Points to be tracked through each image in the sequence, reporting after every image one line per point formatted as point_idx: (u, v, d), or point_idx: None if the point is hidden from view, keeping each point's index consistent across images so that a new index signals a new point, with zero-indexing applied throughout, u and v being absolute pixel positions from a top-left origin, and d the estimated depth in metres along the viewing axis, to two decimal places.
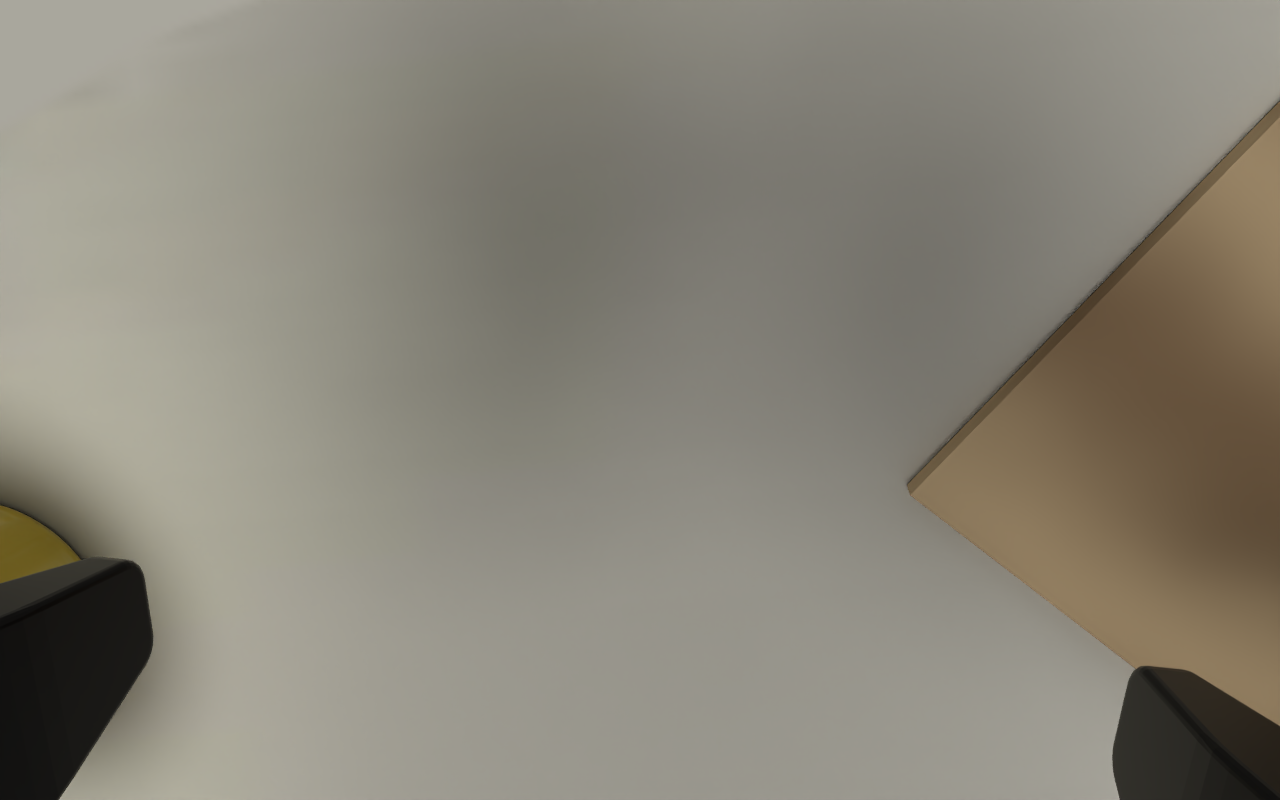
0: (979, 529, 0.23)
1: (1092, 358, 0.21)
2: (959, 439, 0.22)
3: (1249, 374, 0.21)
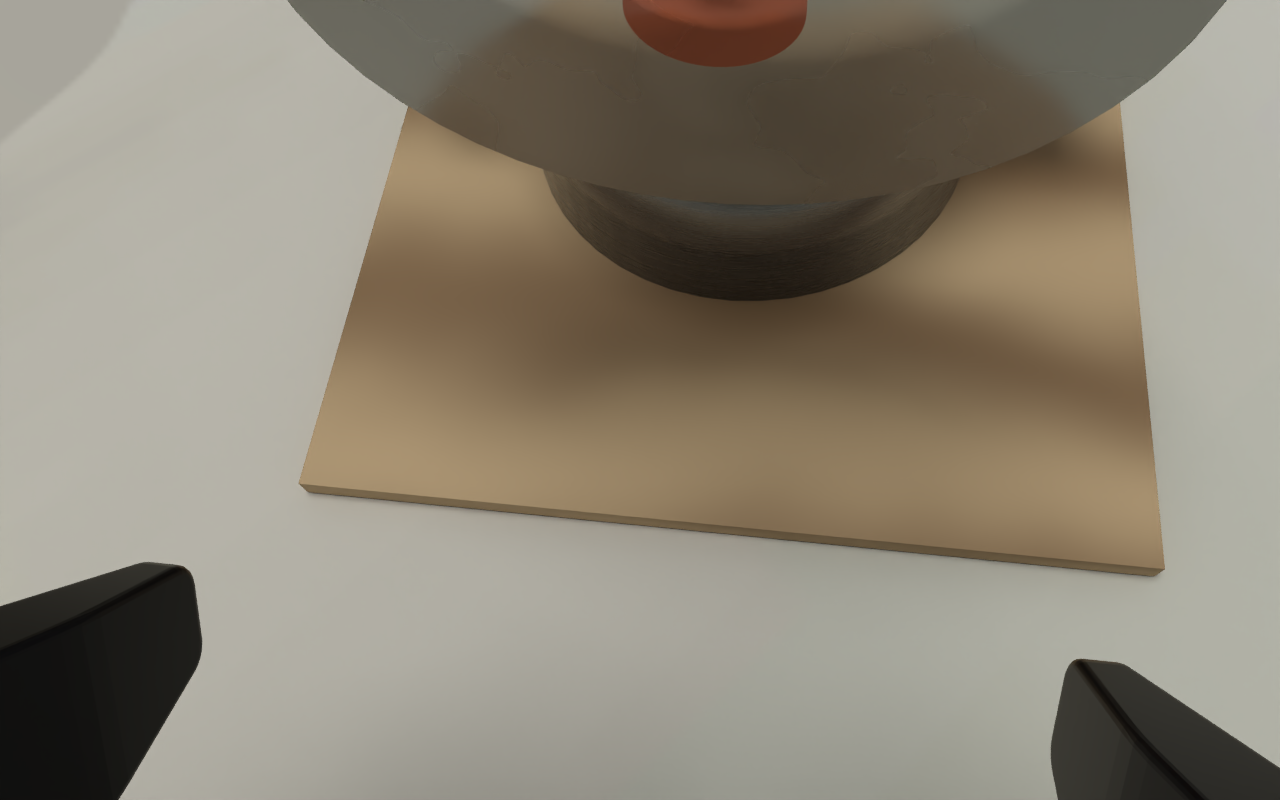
0: (371, 476, 0.24)
1: (377, 311, 0.26)
2: (320, 423, 0.25)
3: (490, 262, 0.26)
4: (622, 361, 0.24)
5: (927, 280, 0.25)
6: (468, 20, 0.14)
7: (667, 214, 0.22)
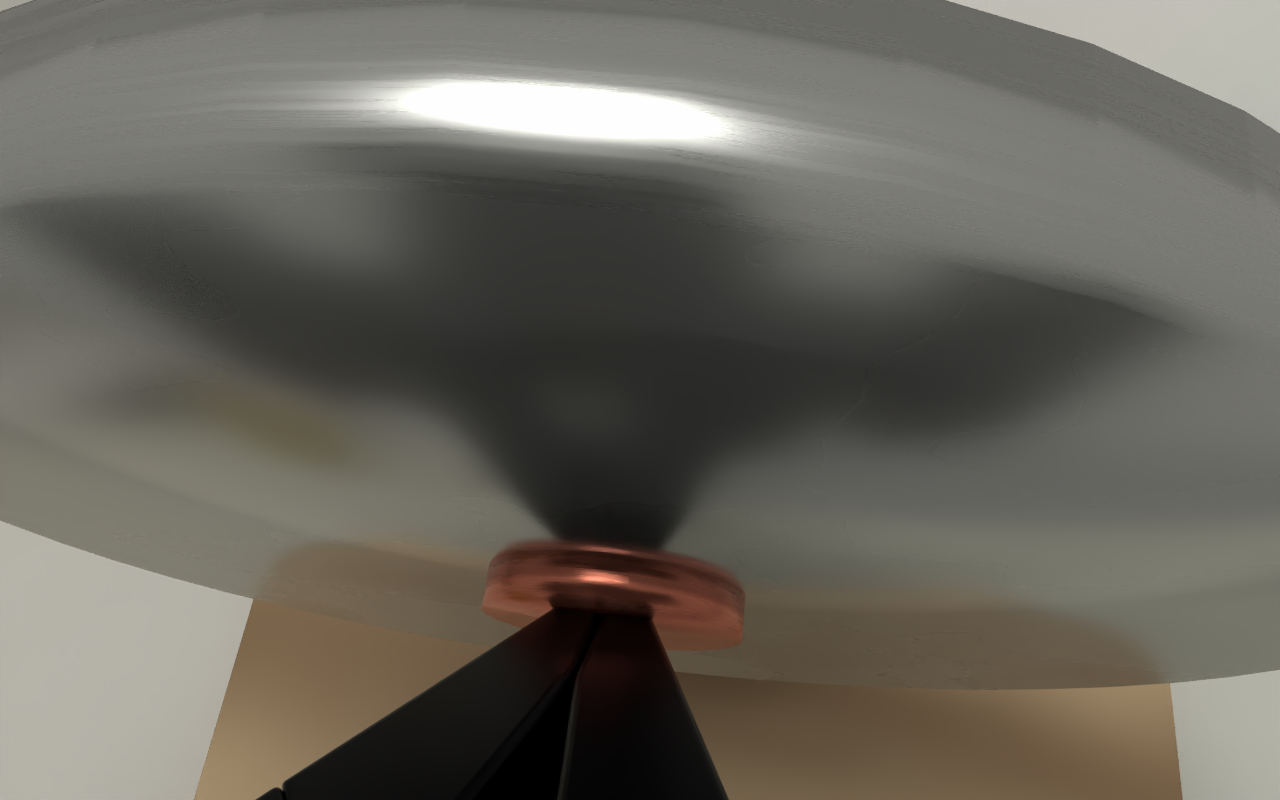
0: None
1: (269, 659, 0.22)
2: None
3: None
4: None
5: None
6: (289, 567, 0.10)
7: None
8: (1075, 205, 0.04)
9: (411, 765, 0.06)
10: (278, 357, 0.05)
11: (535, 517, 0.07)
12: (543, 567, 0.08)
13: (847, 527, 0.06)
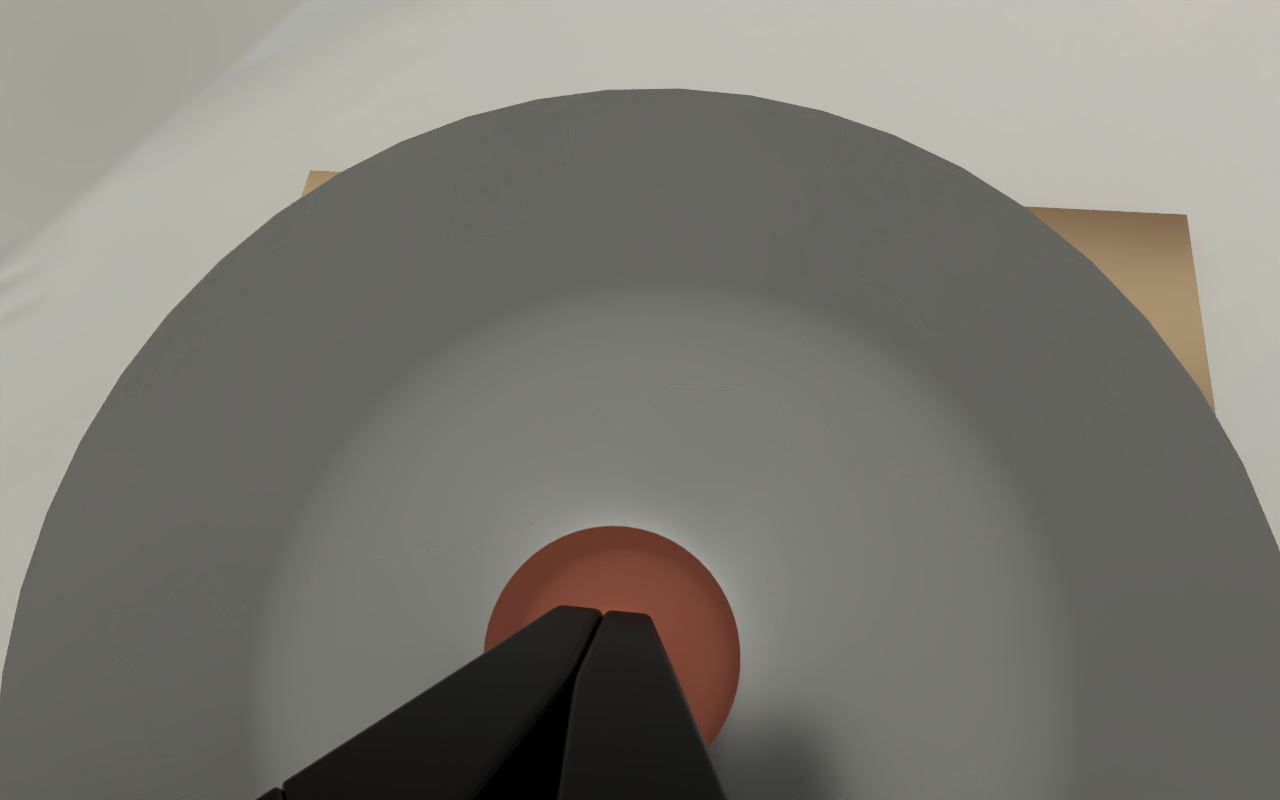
0: None
1: None
2: None
3: None
4: None
5: None
6: (242, 708, 0.10)
7: None
8: None
9: (411, 765, 0.06)
10: (561, 199, 0.11)
11: (604, 437, 0.10)
12: None
13: (823, 406, 0.10)
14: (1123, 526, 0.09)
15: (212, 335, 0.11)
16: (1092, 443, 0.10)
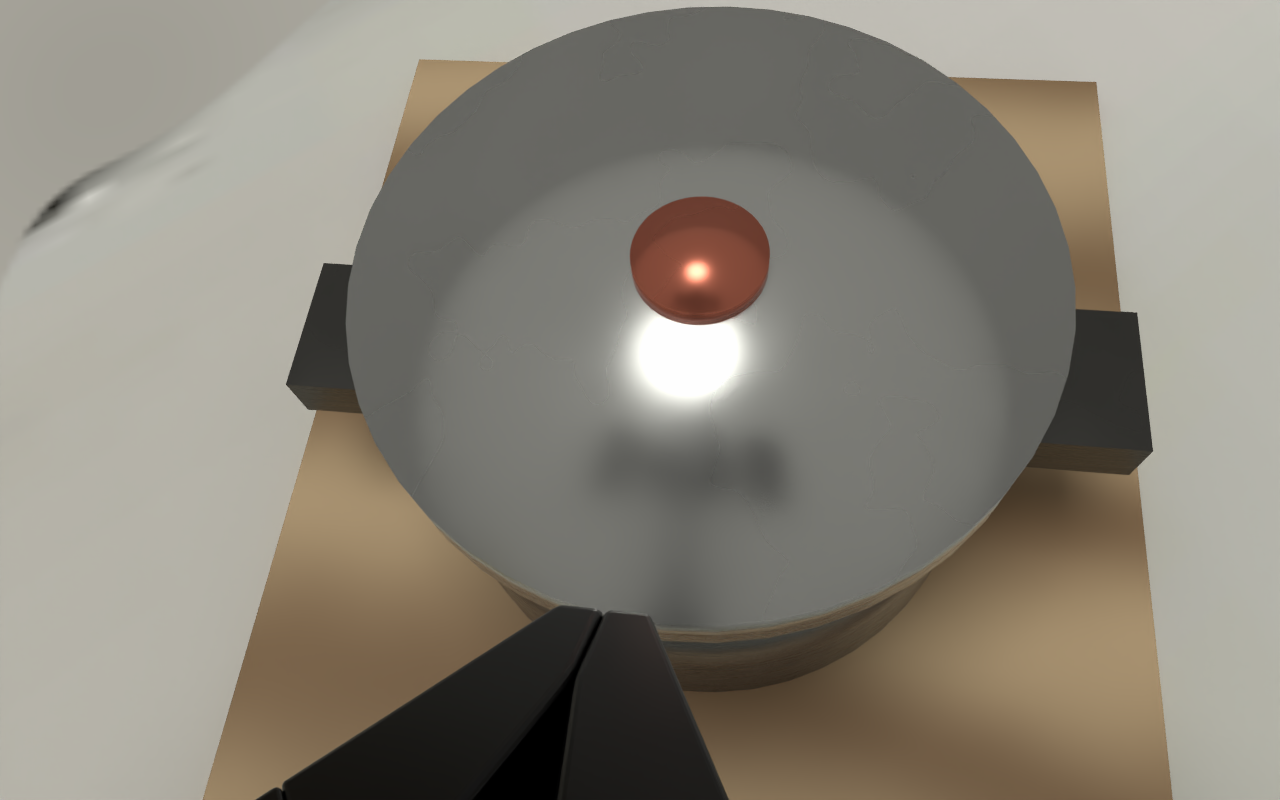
0: None
1: (267, 694, 0.22)
2: None
3: (402, 629, 0.22)
4: None
5: (912, 669, 0.21)
6: (489, 296, 0.17)
7: None
8: None
9: (411, 765, 0.06)
10: (663, 58, 0.19)
11: (690, 167, 0.18)
12: None
13: (812, 151, 0.18)
14: (974, 200, 0.17)
15: (463, 124, 0.19)
16: (958, 164, 0.18)
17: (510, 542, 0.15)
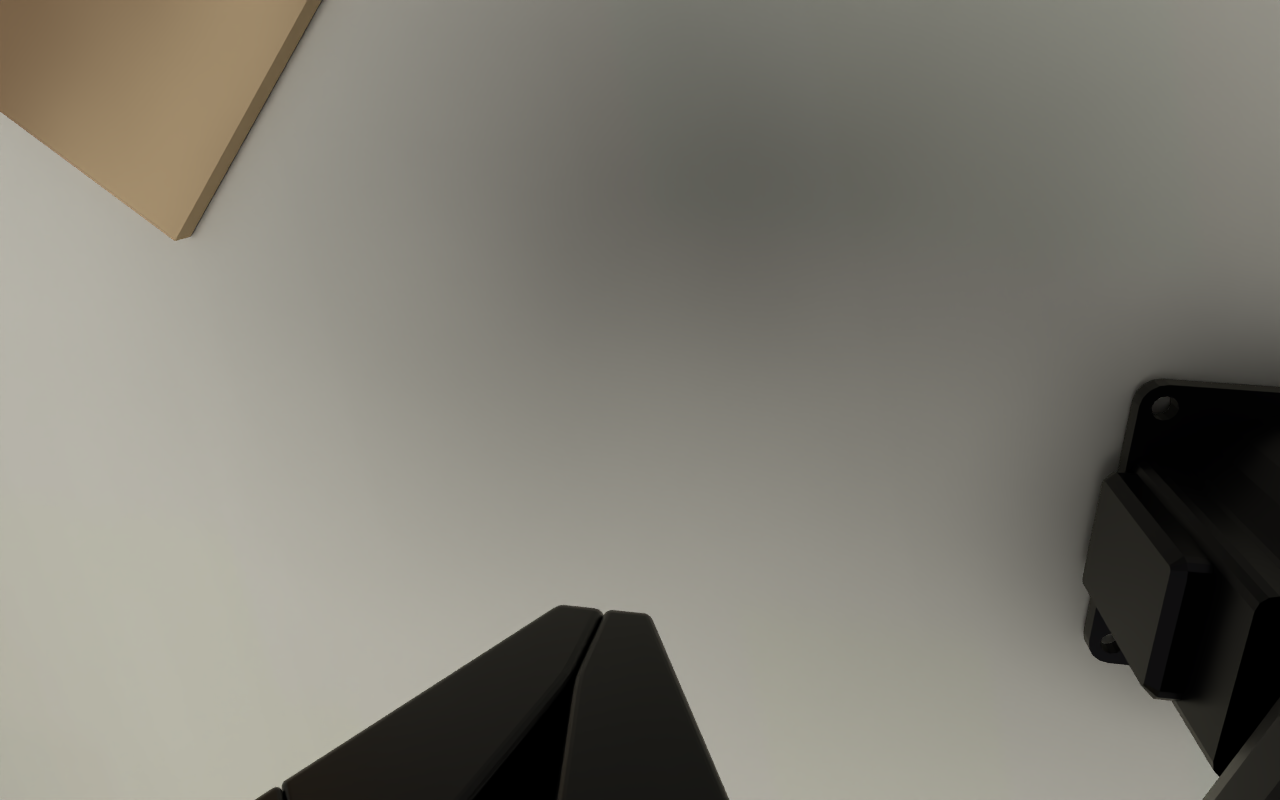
0: (196, 165, 0.21)
1: None
2: (116, 191, 0.22)
3: None
4: None
5: None
6: None
7: None
8: None
9: (411, 766, 0.06)
10: None
11: None
12: None
13: None
14: None
15: None
16: None
17: None
